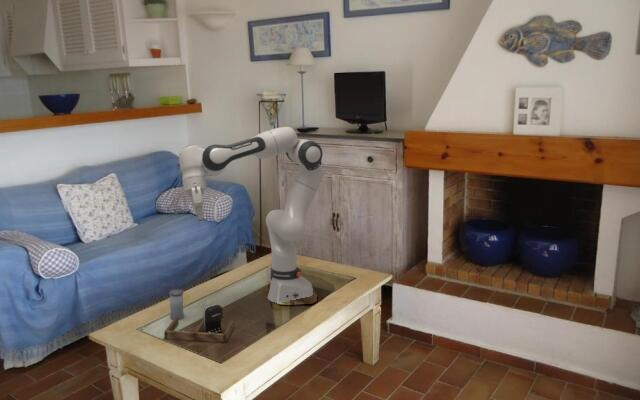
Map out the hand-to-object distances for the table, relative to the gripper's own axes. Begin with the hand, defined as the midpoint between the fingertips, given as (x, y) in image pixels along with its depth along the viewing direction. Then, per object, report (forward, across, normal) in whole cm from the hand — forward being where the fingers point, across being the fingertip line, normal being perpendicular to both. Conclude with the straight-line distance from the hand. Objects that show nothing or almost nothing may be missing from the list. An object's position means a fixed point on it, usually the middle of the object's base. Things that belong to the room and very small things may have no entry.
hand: (200, 220), depth 212 cm
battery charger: (+44, -1, +2) cm, 44 cm away
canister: (+36, +15, +16) cm, 42 cm away
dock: (+42, +1, +8) cm, 43 cm away
